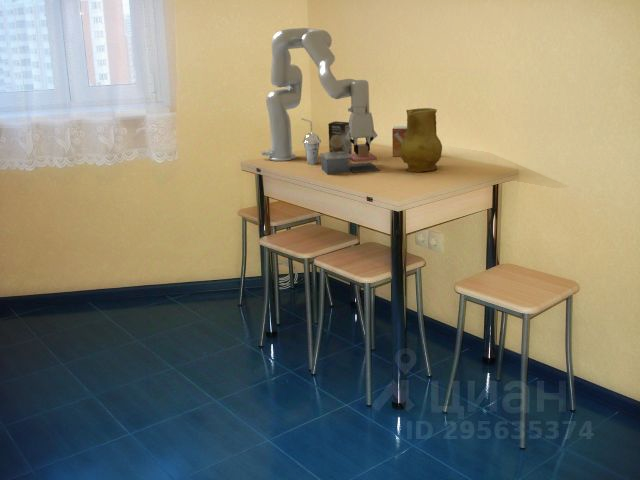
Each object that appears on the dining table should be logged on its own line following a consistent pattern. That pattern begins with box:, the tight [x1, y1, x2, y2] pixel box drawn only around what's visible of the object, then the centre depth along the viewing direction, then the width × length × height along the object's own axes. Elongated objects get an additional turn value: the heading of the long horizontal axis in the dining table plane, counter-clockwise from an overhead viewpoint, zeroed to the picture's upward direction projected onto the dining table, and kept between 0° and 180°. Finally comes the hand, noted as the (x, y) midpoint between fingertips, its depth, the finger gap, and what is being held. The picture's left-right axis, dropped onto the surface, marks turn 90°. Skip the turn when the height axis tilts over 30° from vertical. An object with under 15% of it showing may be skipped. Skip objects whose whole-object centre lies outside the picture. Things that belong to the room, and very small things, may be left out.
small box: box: [391, 125, 407, 157], centre depth 335 cm, size 8×6×13 cm
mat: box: [349, 161, 381, 174], centre depth 314 cm, size 12×16×1 cm
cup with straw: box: [301, 118, 322, 166], centre depth 326 cm, size 8×9×20 cm
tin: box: [319, 151, 351, 176], centre depth 311 cm, size 10×12×7 cm
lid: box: [347, 143, 378, 163], centre depth 312 cm, size 10×12×6 cm
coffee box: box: [327, 120, 353, 154], centre depth 337 cm, size 9×6×16 cm
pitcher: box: [400, 107, 443, 173], centre depth 304 cm, size 17×19×25 cm
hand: (361, 152), depth 312 cm, fingers closed on lid, 4 cm apart
